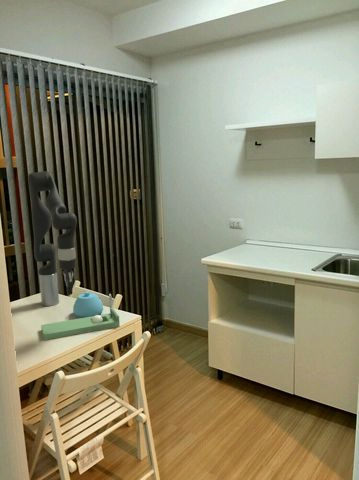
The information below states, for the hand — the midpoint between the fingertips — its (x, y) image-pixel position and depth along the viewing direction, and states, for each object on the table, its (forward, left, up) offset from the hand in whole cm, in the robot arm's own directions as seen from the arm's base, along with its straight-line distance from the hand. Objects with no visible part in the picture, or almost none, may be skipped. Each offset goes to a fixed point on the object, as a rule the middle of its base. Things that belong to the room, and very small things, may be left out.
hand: (69, 294), depth 186 cm
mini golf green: (0, +4, -17) cm, 18 cm away
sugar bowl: (-17, +11, -18) cm, 27 cm away
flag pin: (+1, +18, -15) cm, 24 cm away
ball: (0, +12, -15) cm, 19 cm away
